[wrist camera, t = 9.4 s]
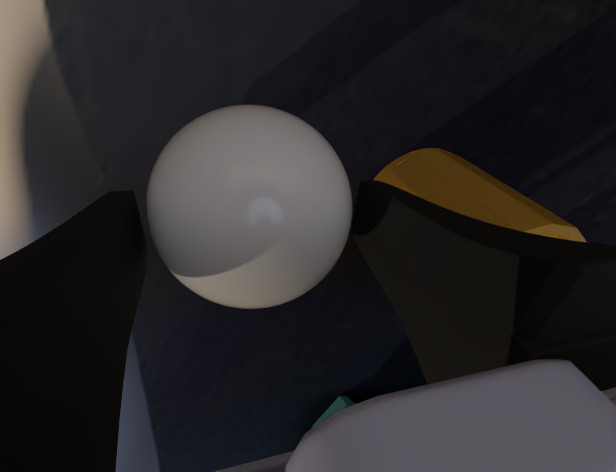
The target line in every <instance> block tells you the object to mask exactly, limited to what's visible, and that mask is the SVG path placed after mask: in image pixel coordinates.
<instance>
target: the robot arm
mask: <svg viewBox="0 0 616 472" xmlns="http://www.w3.org/2000/svg"><path fill="white" fill-rule="evenodd" d="M351 230H352V233H353V235H354V238H355V241H356V243H357V245H358V247H359V250H360V252H361V254H362V255H363V257H364V259H365V260H366V262H367V264H368V265H369V267H370V269H371V270H372V272H373V273H374V275H375V277H376V278H377V280H378V281H379V283H380V285H381V286H382V288H383V289H384V291H385V293H386V294H387V296H388V297H389V299H390V301H391V303H392V304H393V306H394V308H395V310H396V312H397V314H398V316H399V318H400V320H401V323H402V325H403V327H404V329H405V331H406V333H407V336H408V338H409V340H410V343H411V345H412V347H413V349H414V352H415V354H416V356H417V359H418V361H419V364H420V366H421V369H422V372H423V374H424V377H425V379H426V382H427V385H423V386H419V387H415V388H410V389H406V390H402V391H397V392H393V393H389V394H384V395H380V396H376V397H374V398H371V399H368V400H366V401H363V402H360V403H358V404H355V405H352V406H350V407H347V408H344V409H341V410H339V411H337V412H335V413H334V414H332V415H331V416H329V417H328V418H327V419H325V420H324V421H322V422H321V423H319V424H318V425H316V426H315V427H314V428H312V429H311V430H309V431H308V432H306V433H305V435H304V436H303V438H302V439H301V441H300V443H299V444H298V446H297V447H296V449H295V451H292V452H288V453H284V454H280V455H276V456H273V457H269V458H265V459H261V460H257V461H253V462H250V463H246V464H242V465H238V466H234V467H230V468H227V469H223V470H219V471H215V472H616V246H615V245H606V244H598V243H589V242H580V241H572V240H566V239H560V238H554V237H548V236H542V235H537V234H532V233H527V232H523V231H519V230H514V229H510V228H506V227H502V226H498V225H495V224H491V223H487V222H484V221H481V220H478V219H475V218H471V217H468V216H465V215H463V214H460V213H457V212H454V211H452V210H449V209H447V208H444V207H442V206H439V205H437V204H434V203H432V202H429V201H427V200H425V199H423V198H420V197H418V196H416V195H413V194H411V193H409V192H407V191H404V190H402V189H400V188H397V187H395V186H393V185H390V184H388V183H385V182H382V181H378V180H368V181H360V186H359V192H358V197H357V202H356V207H355V213H354V218H353V223H352V228H351ZM146 259H147V243H146V239H145V235H144V231H143V227H142V222H141V218H140V214H139V210H138V206H137V202H136V197H135V193H134V190H133V191H111V192H109V193H107V194H105V195H103V196H102V197H100V198H99V199H97V200H96V201H95V202H93V203H92V204H90V205H89V206H87V207H86V208H85V209H83V210H82V211H80V212H79V213H78V214H76V215H75V216H73V217H72V218H70V219H69V220H67V221H66V222H64V223H63V224H62V225H60V226H58V227H57V228H55V229H53V230H52V231H50V232H49V233H47V234H46V235H44V236H42V237H41V238H39V239H38V240H36V241H34V242H33V243H31V244H29V245H28V246H26V247H24V248H22V249H20V250H19V251H17V252H15V253H13V254H11V255H9V256H7V257H5V258H3V259H1V260H0V472H115V470H116V456H117V443H118V431H119V419H120V409H121V399H122V389H123V380H124V372H125V363H126V355H127V349H128V344H129V339H130V334H131V330H132V326H133V322H134V318H135V314H136V310H137V306H138V302H139V298H140V294H141V290H142V285H143V281H144V277H145V270H146Z"/></svg>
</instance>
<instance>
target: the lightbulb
mask: <svg viewBox="0 0 616 472" xmlns="http://www.w3.org/2000/svg"><path fill="white" fill-rule="evenodd" d="M146 215H147V223H148V228H149V232H150V235H151V238H152V241H153V244H154V246H155V248H156V251H157V253H158V254H159V256H160V258H161V260H162V261H163V263H164V264H165V265H166V267H167V268H168V269H169V271H170V272H171V273H172V274H173V275H174V276H175V277H176V278H177V279H178V280H179V281H180V282H181V283H182V284H183V285H185V286H186V287H187V288H188V289H190V290H191V291H193V292H194V293H196V294H198V295H199V296H201V297H203V298H205V299H207V300H210V301H212V302H215V303H218V304H221V305H225V306H229V307H234V308H243V309H258V308H267V307H272V306H276V305H280V304H283V303H286V302H289V301H291V300H293V299H296V298H298V297H299V296H301V295H303V294H305V293H306V292H308V291H309V290H311V289H312V288H313V287H315V286H316V285H317V284H318V283H319V282H320V281H321V280H322V279H323V278H324V277H325V276H326V275H327V274H328V273H329V272H330V271H331V269H332V268H333V267H334V265H335V264H336V262H337V261H338V259H339V257H340V255H341V253H342V251H343V249H344V247H345V245H346V242H347V239H348V236H349V232H350V227H351V221H352V195H351V189H350V184H349V180H348V177H347V174H346V171H345V169H344V167H343V164H342V162H341V160H340V159H339V157H338V155H337V154H336V152H335V150H334V149H333V148H332V146H331V145H330V144H329V143H328V141H327V140H326V139H325V138H324V137H323V136H322V135H321V134H320V133H319V132H318V131H317V130H316V129H314V128H313V127H312V126H310V125H309V124H308V123H306V122H305V121H303V120H302V119H300V118H298V117H296V116H294V115H292V114H290V113H288V112H285V111H282V110H280V109H276V108H272V107H268V106H262V105H249V104H246V105H233V106H227V107H223V108H219V109H216V110H213V111H210V112H208V113H205V114H203V115H201V116H199V117H197V118H196V119H194V120H192V121H191V122H189V123H188V124H187V125H185V126H184V127H183V128H181V129H180V130H179V131H178V132H177V133H176V134H175V135H174V136H173V137H172V138H171V139H170V140H169V142H168V143H167V144H166V146H165V147H164V148H163V150H162V151H161V153H160V155H159V156H158V158H157V160H156V162H155V164H154V167H153V169H152V172H151V175H150V178H149V183H148V187H147V195H146Z"/></svg>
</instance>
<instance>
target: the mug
mask: <svg viewBox="0 0 616 472" xmlns="http://www.w3.org/2000/svg"><path fill="white" fill-rule="evenodd" d="M373 180H378V181H382V182H385V183H388V184H390V185H393V186H395V187H397V188H400V189H402V190H404V191H407V192H409V193H411V194H413V195H416V196H418V197H420V198H423V199H425V200H427V201H429V202H432V203H434V204H437V205H439V206H442V207H444V208H447V209H449V210H452V211H454V212H457V213H460V214H463V215H465V216H468V217H471V218H475V219H478V220H481V221H484V222H487V223H491V224H495V225H498V226H502V227H506V228H510V229H514V230H519V231H523V232H527V233H532V234H537V235H542V236H548V237H554V238H560V239H566V240H572V241H580V242H587V241H586V240H585V239H584V237H583V236H582V234H581V233H580V232H579V230H578V229H577V228H576V227H575V226H573V225H571V224H570V223H568V222H566V221H565V220H563V219H561V218H560V217H558V216H557V215H555V214H553V213H552V212H550V211H548V210H547V209H545V208H543V207H542V206H540V205H538V204H537V203H535V202H534V201H532V200H530V199H529V198H527V197H525V196H524V195H522V194H520V193H519V192H517V191H515V190H514V189H512V188H511V187H509V186H507V185H506V184H504V183H502V182H501V181H499V180H497V179H496V178H494V177H492V176H491V175H489V174H488V173H486V172H484V171H483V170H481V169H479V168H478V167H476V166H474V165H473V164H471V163H469V162H468V161H466V160H465V159H463V158H461V157H460V156H458V155H455V154H452V153H450V152H449V151H446V150H443V149H438V148H425V149H419V150H415V151H412V152H409V153H407V154H404V155H402V156H401V157H399V158H397V159H395V160H394V161H392V162H391V163H389V164H388V165H387V166H386V167H385V168H383V169H382V170H381V171H380V172H379V173H378V174H377V175H376V177H375V178H374V179H373Z"/></svg>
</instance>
